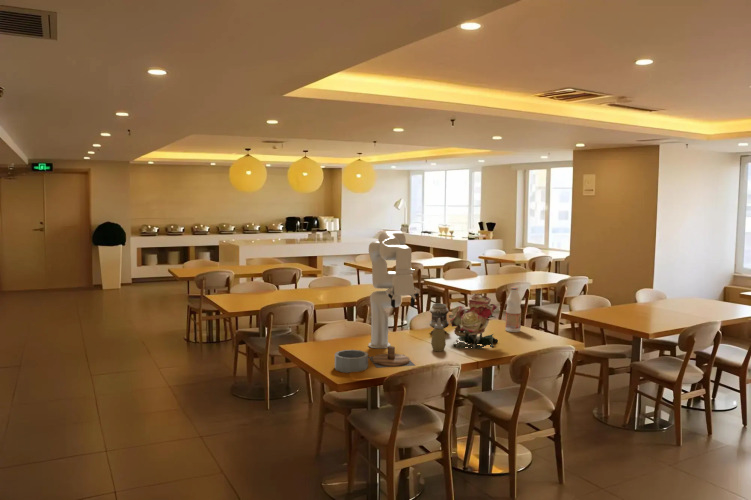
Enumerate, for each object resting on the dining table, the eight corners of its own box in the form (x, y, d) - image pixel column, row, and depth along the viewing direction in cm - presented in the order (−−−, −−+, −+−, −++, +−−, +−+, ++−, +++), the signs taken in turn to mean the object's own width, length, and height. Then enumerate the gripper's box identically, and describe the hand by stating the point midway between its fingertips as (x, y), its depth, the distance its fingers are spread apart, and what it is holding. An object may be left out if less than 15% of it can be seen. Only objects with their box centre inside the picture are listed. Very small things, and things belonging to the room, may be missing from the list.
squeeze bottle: (432, 347, 322) (433, 316, 321) (446, 349, 320) (447, 317, 319) (429, 351, 315) (430, 319, 313) (444, 352, 312) (445, 320, 311)
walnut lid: (368, 356, 300) (369, 343, 300) (403, 355, 305) (403, 341, 304) (377, 367, 282) (377, 353, 281) (414, 365, 286) (414, 351, 286)
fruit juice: (509, 332, 362) (510, 289, 359) (502, 329, 371) (504, 286, 369) (523, 332, 364) (524, 288, 362) (516, 328, 373) (517, 286, 371)
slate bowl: (332, 364, 288) (332, 350, 287) (363, 362, 292) (363, 349, 291) (338, 373, 273) (338, 359, 272) (370, 371, 276) (370, 357, 276)
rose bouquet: (449, 338, 346) (450, 289, 344) (498, 341, 340) (499, 291, 338) (445, 348, 321) (446, 296, 319) (498, 352, 315) (500, 298, 313)
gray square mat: (367, 357, 301) (367, 356, 301) (404, 355, 305) (404, 354, 305) (376, 368, 281) (376, 367, 281) (415, 366, 286) (415, 365, 286)
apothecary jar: (438, 329, 368) (438, 302, 367) (452, 332, 359) (453, 304, 358) (425, 332, 360) (425, 304, 358) (439, 335, 351) (440, 307, 350)
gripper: (417, 270, 283) (417, 304, 284) (384, 271, 278) (383, 306, 280) (422, 272, 276) (422, 307, 277) (388, 273, 271) (388, 309, 273)
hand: (402, 306), depth 279 cm, fingers open, 9 cm apart
